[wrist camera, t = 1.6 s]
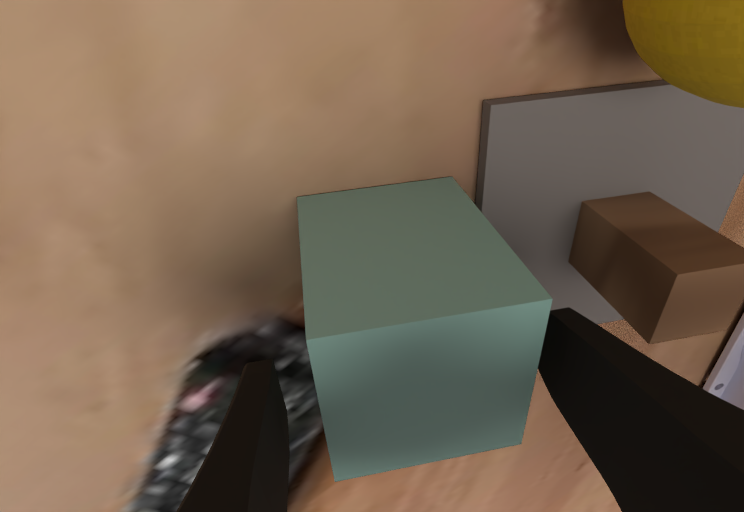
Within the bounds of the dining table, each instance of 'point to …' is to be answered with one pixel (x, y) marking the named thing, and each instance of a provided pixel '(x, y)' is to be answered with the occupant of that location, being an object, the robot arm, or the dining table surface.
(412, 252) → the upright teal cuboid
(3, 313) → the dining table surface
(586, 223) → the wooden toy block
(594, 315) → the base
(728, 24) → the lemon
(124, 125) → the dining table surface
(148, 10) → the dining table surface
